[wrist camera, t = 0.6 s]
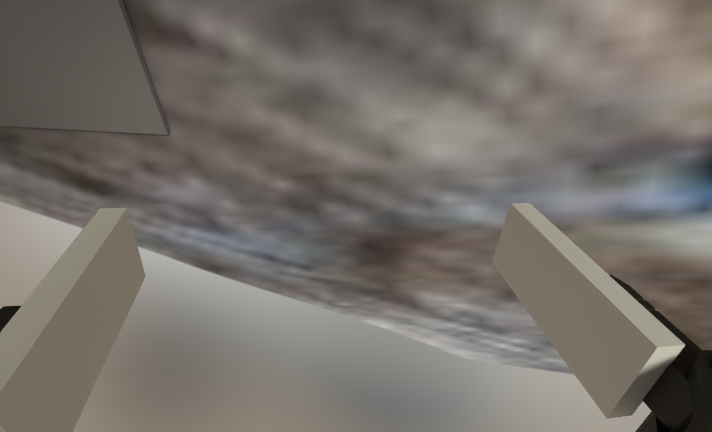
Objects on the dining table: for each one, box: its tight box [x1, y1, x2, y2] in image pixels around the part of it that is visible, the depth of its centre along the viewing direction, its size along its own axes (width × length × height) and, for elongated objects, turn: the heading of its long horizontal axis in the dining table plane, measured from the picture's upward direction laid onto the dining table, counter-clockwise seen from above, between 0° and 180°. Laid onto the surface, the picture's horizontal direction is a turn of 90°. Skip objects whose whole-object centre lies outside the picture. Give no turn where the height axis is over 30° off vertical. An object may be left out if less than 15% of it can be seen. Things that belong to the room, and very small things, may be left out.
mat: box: [0, 0, 170, 135], centre depth 20 cm, size 14×12×1 cm
